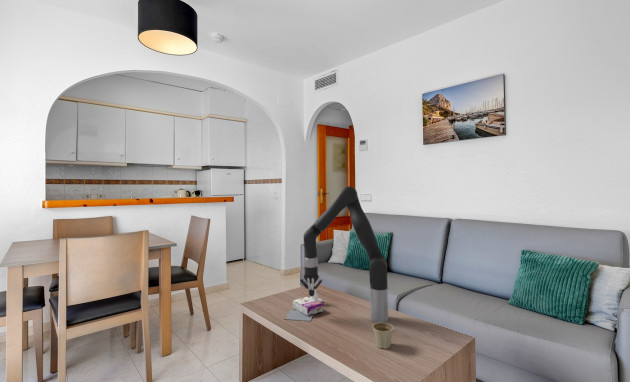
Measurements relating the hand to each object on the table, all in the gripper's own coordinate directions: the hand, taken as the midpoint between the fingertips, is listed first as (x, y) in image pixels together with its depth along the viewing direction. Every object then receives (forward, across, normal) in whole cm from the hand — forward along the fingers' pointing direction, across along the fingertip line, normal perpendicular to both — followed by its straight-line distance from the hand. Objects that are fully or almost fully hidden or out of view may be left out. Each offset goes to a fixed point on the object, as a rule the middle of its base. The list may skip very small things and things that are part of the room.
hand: (311, 295), depth 177 cm
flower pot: (+12, -39, +26) cm, 48 cm away
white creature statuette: (+12, +3, -18) cm, 22 cm away
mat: (+12, +7, 0) cm, 13 cm away
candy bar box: (+9, -2, -2) cm, 9 cm away
